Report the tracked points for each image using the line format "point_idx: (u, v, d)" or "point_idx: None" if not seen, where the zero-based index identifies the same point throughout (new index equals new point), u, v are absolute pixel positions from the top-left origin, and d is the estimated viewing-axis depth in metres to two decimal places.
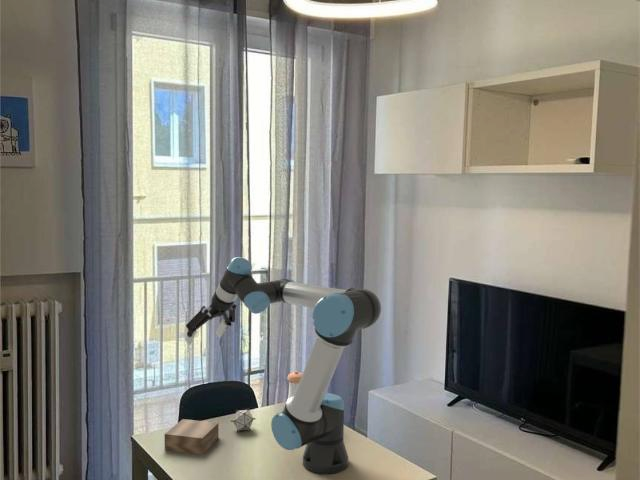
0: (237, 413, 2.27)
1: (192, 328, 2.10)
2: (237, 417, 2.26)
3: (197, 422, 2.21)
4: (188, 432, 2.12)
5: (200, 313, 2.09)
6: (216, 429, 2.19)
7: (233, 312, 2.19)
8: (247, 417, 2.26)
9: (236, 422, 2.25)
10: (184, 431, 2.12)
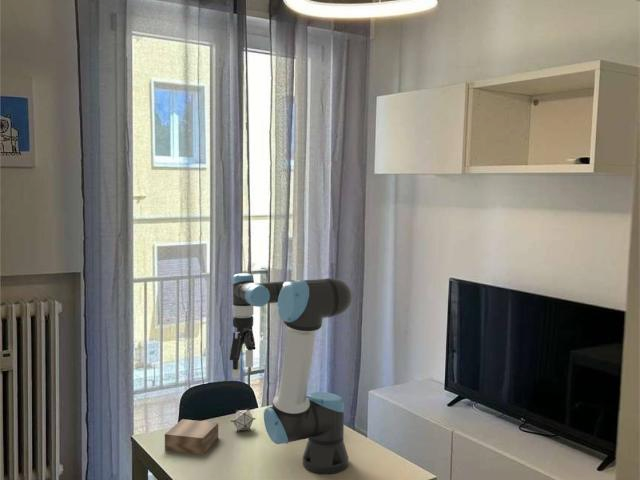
0: (237, 413, 2.27)
1: (237, 356, 2.17)
2: (237, 417, 2.26)
3: (197, 422, 2.21)
4: (188, 432, 2.12)
5: (235, 340, 2.19)
6: (216, 429, 2.19)
7: (252, 333, 2.32)
8: (247, 417, 2.26)
9: (236, 422, 2.25)
10: (185, 432, 2.12)
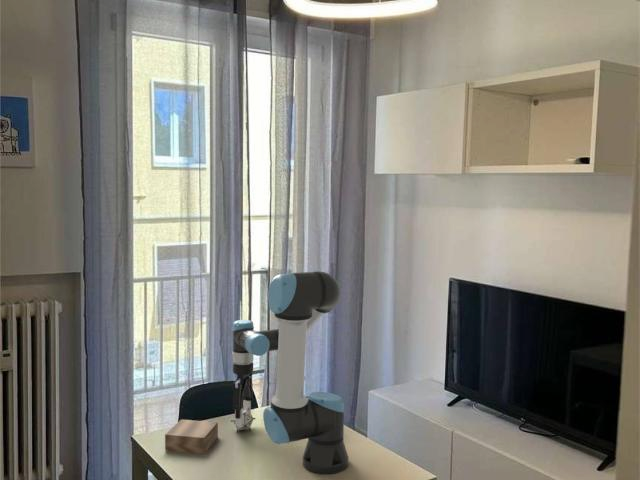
0: None
1: (239, 406, 2.21)
2: None
3: (196, 422, 2.21)
4: (189, 432, 2.12)
5: (236, 390, 2.21)
6: (216, 428, 2.20)
7: (251, 381, 2.33)
8: (247, 416, 2.26)
9: None
10: (185, 432, 2.12)
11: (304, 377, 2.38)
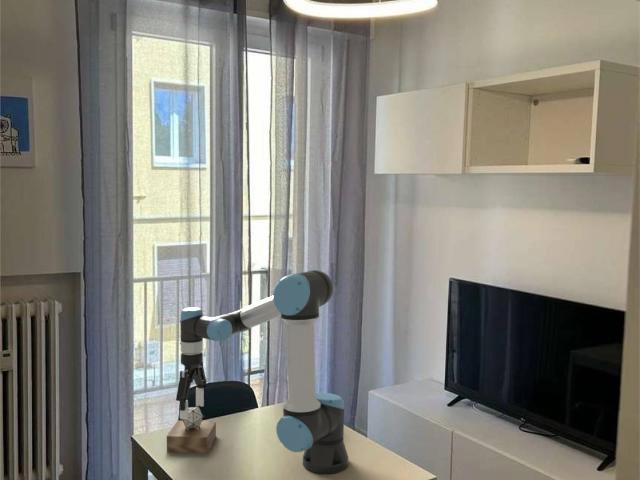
0: None
1: (184, 397, 2.06)
2: None
3: None
4: (190, 432, 2.12)
5: (182, 379, 2.07)
6: (214, 428, 2.21)
7: (203, 370, 2.20)
8: (195, 414, 2.13)
9: (184, 420, 2.12)
10: (186, 432, 2.12)
11: None
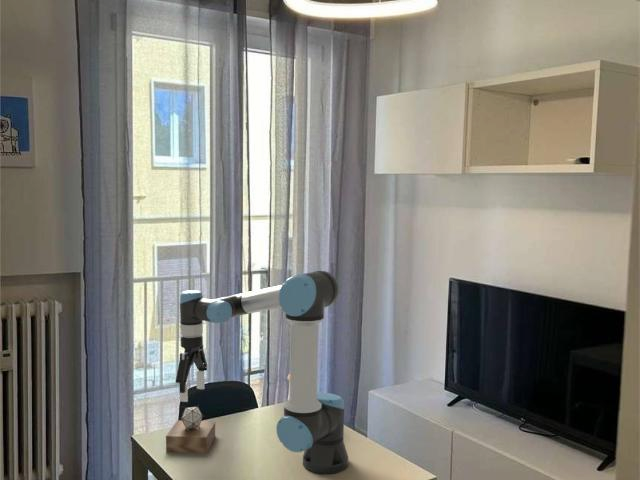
0: (185, 410, 2.14)
1: (183, 379, 2.05)
2: (185, 414, 2.13)
3: None
4: (189, 432, 2.12)
5: (181, 361, 2.06)
6: (214, 428, 2.21)
7: (203, 353, 2.20)
8: (195, 414, 2.13)
9: (184, 420, 2.12)
10: (185, 432, 2.12)
11: None
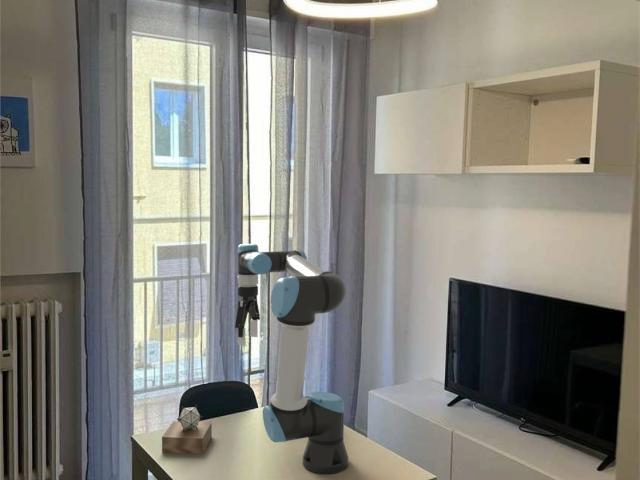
0: (183, 411, 2.14)
1: (242, 324, 2.21)
2: (183, 415, 2.12)
3: None
4: (185, 433, 2.11)
5: (240, 308, 2.23)
6: (210, 428, 2.20)
7: (257, 303, 2.36)
8: (193, 414, 2.13)
9: (182, 420, 2.12)
10: (182, 433, 2.11)
11: None
